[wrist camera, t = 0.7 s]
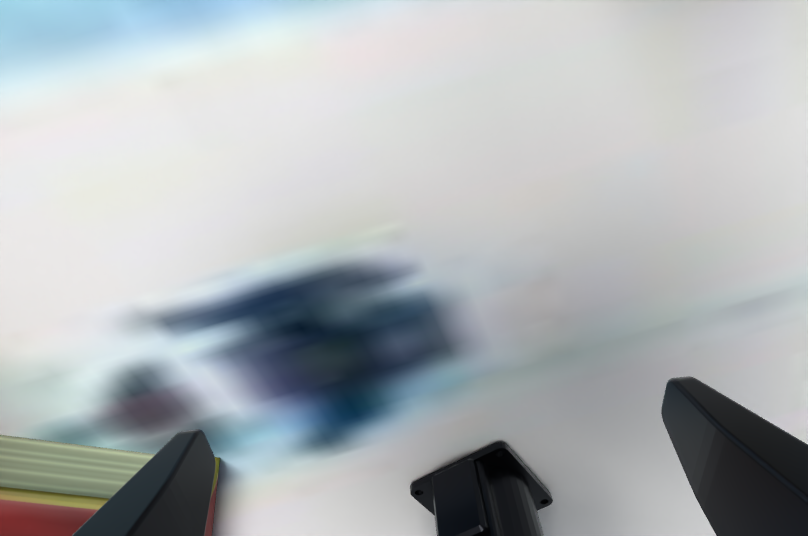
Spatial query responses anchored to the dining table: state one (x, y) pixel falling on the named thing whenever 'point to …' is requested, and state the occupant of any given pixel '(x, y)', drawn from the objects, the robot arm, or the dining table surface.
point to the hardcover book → (63, 484)
